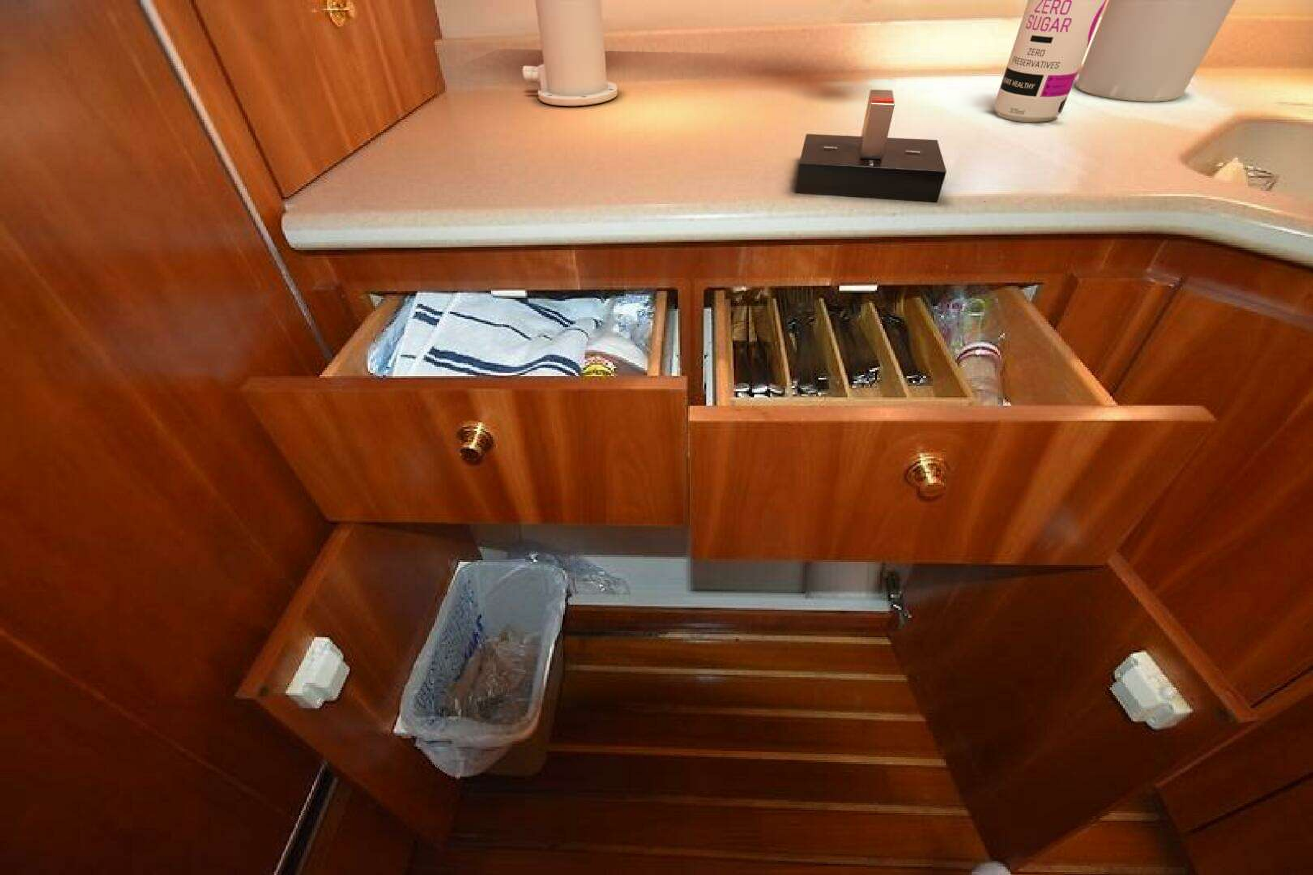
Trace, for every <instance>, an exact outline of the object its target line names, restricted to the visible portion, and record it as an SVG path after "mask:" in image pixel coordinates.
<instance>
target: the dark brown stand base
mask: <svg viewBox="0 0 1313 875" xmlns="http://www.w3.org/2000/svg"><path fill="white" fill-rule="evenodd" d="M860 140H861V135H860V136H859V135H841V134H839V135H838V134H817V133H815V134H814V133H806V135H805V137H804V141H803V146H802V149H801V154H800V159H799V162H798V169H797V175H796V176H797V177H796V184H795V192H794V193H798V194H810V195H811V194H812V195H825V196H840V197H856V198H871V199H872V198H873V199H887V200H901V201H915V202H916V201H917V202H918V201H919V202H930V203H932V202H933V203H937V202H938V201H939V198H940V196H941V191H942V188H943V185H944V181H945V178H946V175H947V169H946V165H945V162H944V157H943V154H942V152H941V147H940V144H939V141H938V140H937V139H927V138H905V137H887V141H886V146H885V150H884V155H883V159H871V158H860Z"/></svg>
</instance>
